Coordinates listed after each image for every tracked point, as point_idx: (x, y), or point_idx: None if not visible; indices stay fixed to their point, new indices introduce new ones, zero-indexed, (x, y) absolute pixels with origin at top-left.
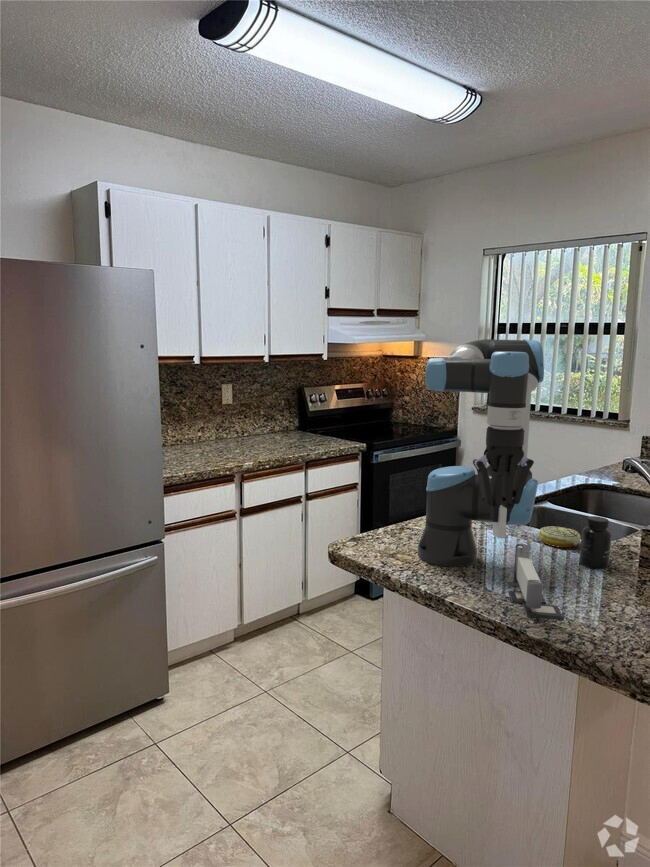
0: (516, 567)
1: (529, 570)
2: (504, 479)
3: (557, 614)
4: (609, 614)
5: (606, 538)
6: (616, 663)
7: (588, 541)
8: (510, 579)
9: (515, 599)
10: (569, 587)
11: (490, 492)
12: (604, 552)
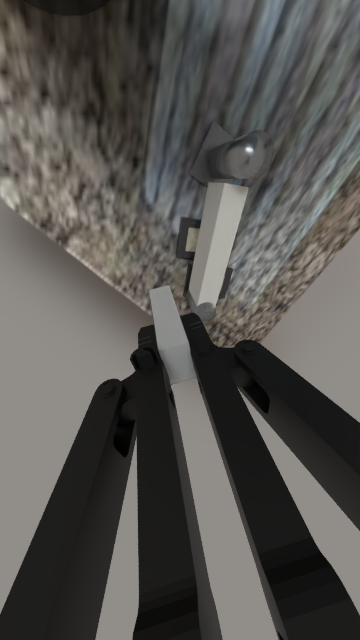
0: (217, 169)
1: (216, 265)
2: (240, 509)
3: (220, 294)
4: (283, 278)
5: None
6: None
7: None
8: (200, 162)
9: (181, 254)
10: (293, 185)
11: (125, 472)
12: None
